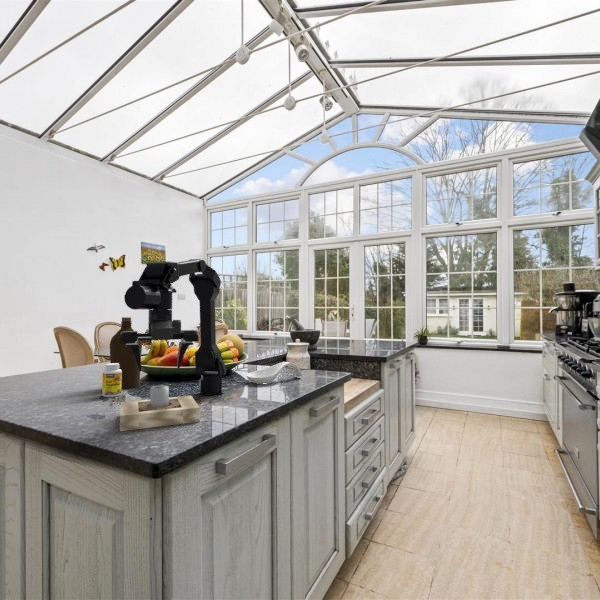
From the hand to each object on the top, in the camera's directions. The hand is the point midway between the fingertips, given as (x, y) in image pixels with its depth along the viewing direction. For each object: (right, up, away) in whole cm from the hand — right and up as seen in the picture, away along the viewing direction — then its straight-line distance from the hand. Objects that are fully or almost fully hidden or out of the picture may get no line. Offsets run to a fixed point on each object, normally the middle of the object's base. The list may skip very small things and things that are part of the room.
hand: (159, 370), depth 96 cm
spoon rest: (+27, -14, +50) cm, 58 cm away
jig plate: (0, -12, 0) cm, 12 cm away
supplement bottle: (-25, -13, +25) cm, 37 cm away
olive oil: (-27, -13, +38) cm, 48 cm away
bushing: (0, -13, 0) cm, 13 cm away
